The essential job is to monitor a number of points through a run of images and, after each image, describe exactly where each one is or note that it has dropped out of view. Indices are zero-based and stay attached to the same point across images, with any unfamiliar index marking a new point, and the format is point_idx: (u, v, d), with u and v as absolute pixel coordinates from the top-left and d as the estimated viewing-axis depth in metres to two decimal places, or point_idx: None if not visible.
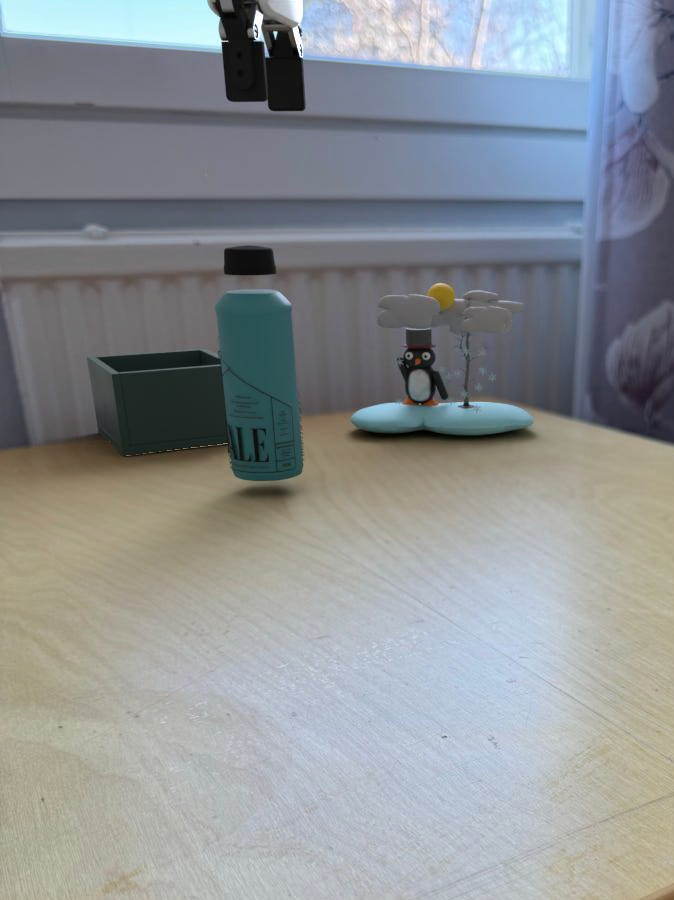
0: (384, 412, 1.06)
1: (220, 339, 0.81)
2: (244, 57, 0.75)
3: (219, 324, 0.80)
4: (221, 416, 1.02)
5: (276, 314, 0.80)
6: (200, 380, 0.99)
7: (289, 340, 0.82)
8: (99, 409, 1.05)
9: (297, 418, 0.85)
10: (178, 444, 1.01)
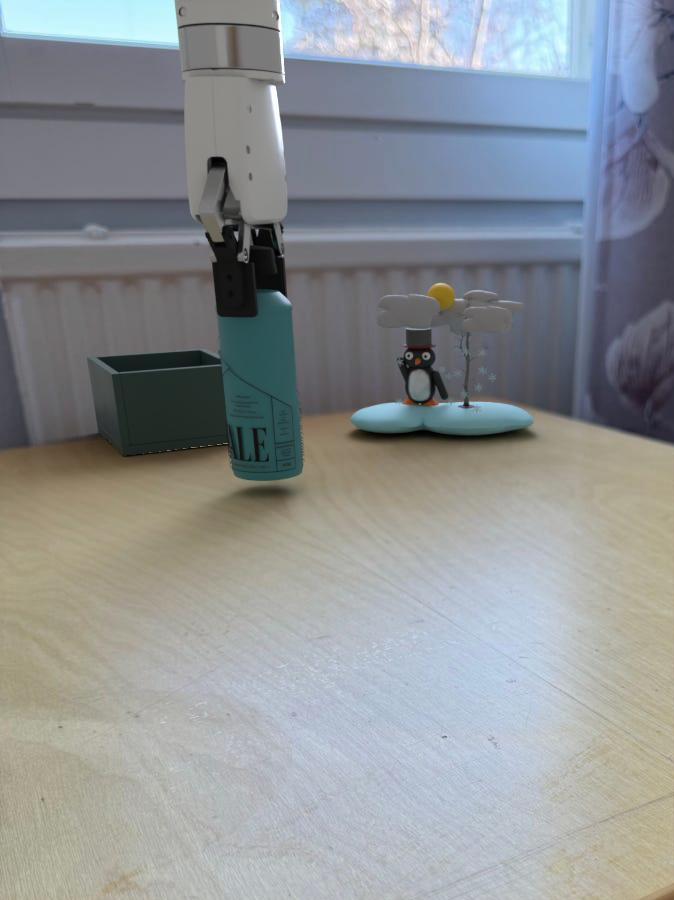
0: (384, 412, 1.06)
1: (220, 339, 0.81)
2: (234, 279, 0.76)
3: (219, 324, 0.80)
4: (221, 416, 1.02)
5: (276, 313, 0.80)
6: (200, 380, 0.99)
7: (290, 339, 0.82)
8: (99, 409, 1.05)
9: (297, 418, 0.85)
10: (178, 444, 1.01)
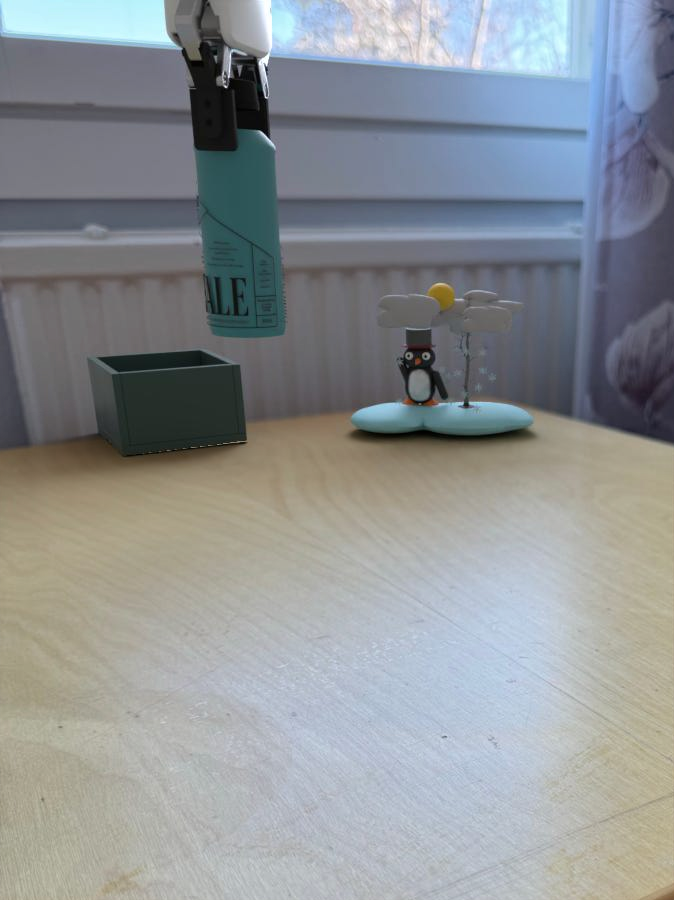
0: (384, 412, 1.06)
1: (198, 180, 0.76)
2: (213, 106, 0.72)
3: (197, 163, 0.76)
4: (221, 416, 1.02)
5: (258, 151, 0.75)
6: (200, 380, 0.99)
7: (272, 184, 0.77)
8: (99, 409, 1.05)
9: (279, 272, 0.80)
10: (178, 444, 1.01)
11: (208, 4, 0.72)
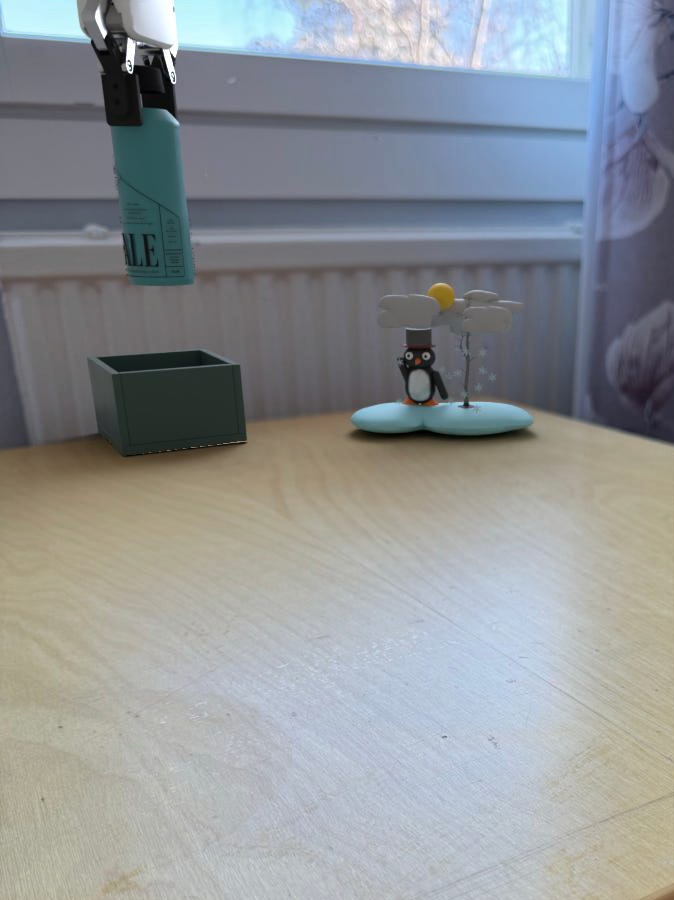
0: (384, 412, 1.06)
1: (114, 151, 0.91)
2: (120, 88, 0.86)
3: (112, 137, 0.90)
4: (221, 416, 1.02)
5: (162, 126, 0.89)
6: (200, 380, 0.99)
7: (176, 154, 0.92)
8: (99, 409, 1.05)
9: (186, 230, 0.95)
10: (178, 444, 1.01)
11: None
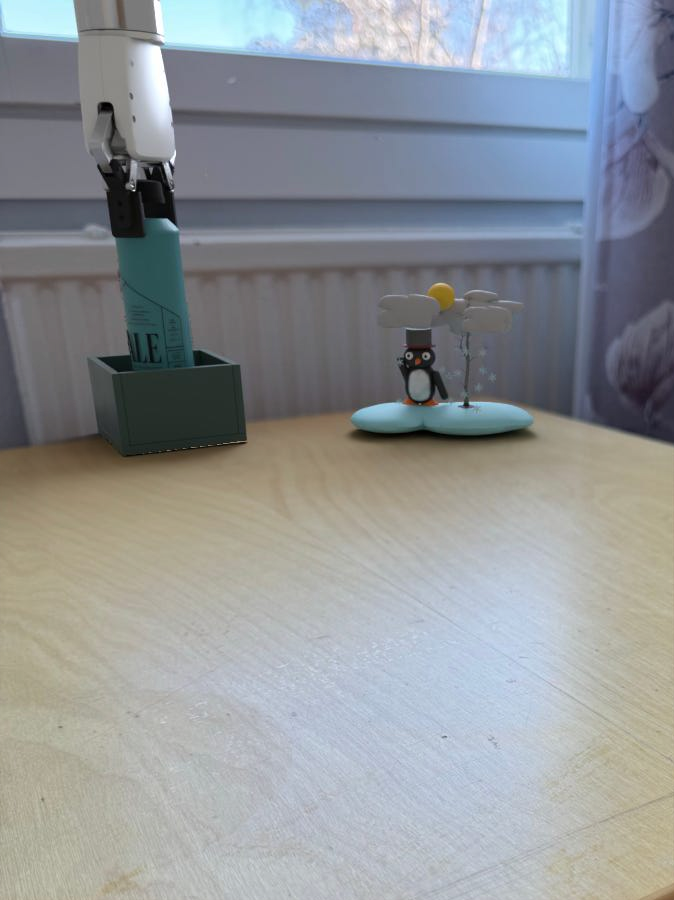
0: (384, 412, 1.06)
1: (118, 258, 0.97)
2: (124, 205, 0.93)
3: (117, 245, 0.97)
4: (221, 416, 1.02)
5: (163, 236, 0.96)
6: (200, 380, 0.99)
7: (177, 259, 0.98)
8: (99, 409, 1.05)
9: (186, 327, 1.01)
10: (178, 444, 1.01)
11: None
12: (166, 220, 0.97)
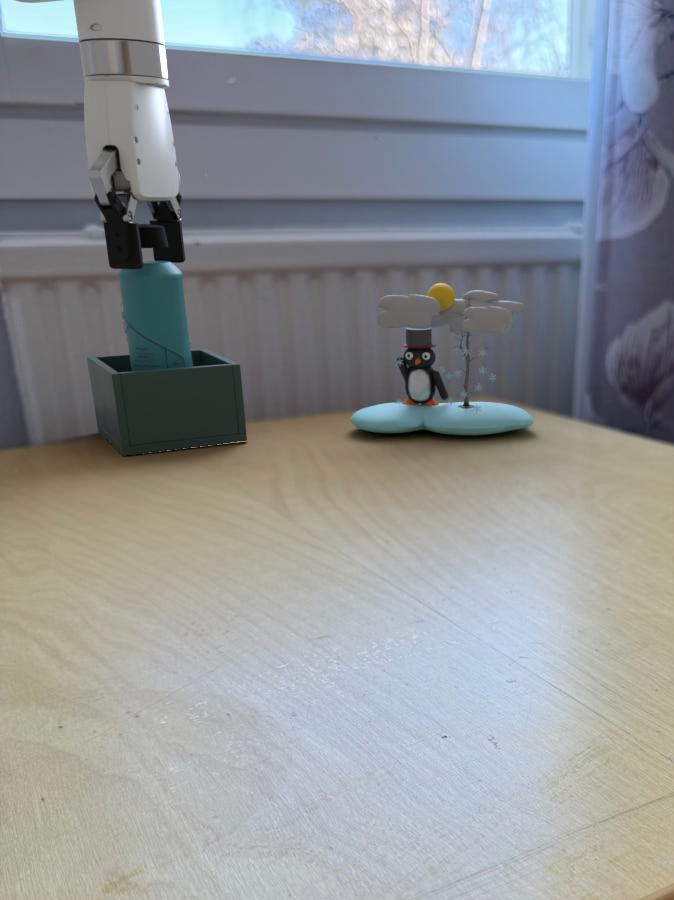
0: (384, 412, 1.06)
1: (122, 301, 0.99)
2: (121, 236, 0.93)
3: (121, 288, 0.98)
4: (221, 416, 1.02)
5: (167, 280, 0.98)
6: (200, 380, 0.99)
7: (180, 302, 1.00)
8: (99, 409, 1.05)
9: None
10: (178, 444, 1.01)
11: None
12: (169, 264, 0.99)
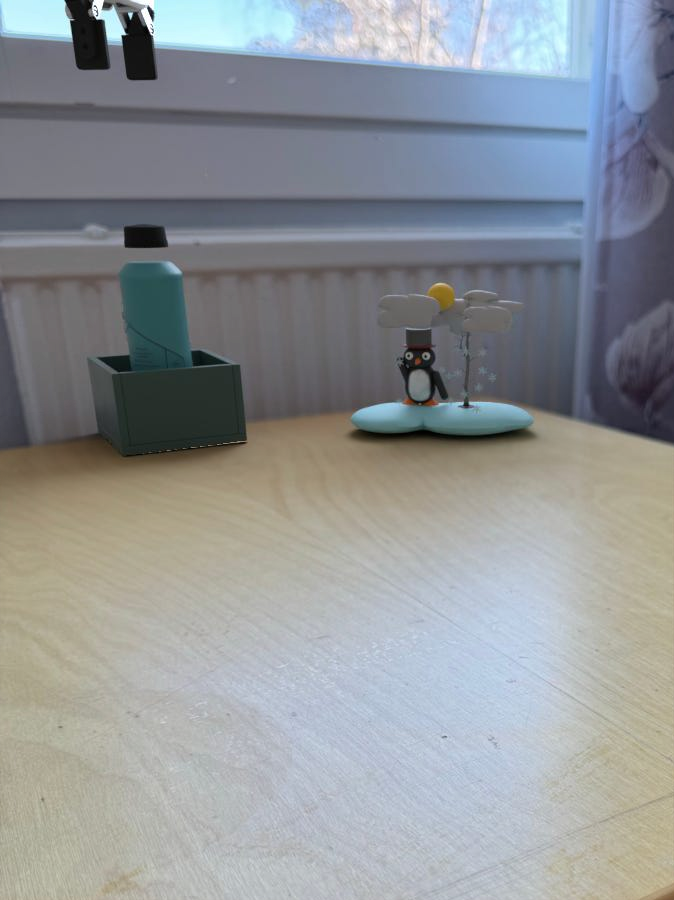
0: (384, 412, 1.06)
1: (122, 301, 0.99)
2: (87, 32, 0.92)
3: (121, 288, 0.98)
4: (221, 416, 1.02)
5: (167, 280, 0.98)
6: (200, 380, 0.99)
7: (180, 302, 1.00)
8: (99, 409, 1.05)
9: None
10: (178, 444, 1.01)
11: None
12: (169, 264, 0.99)
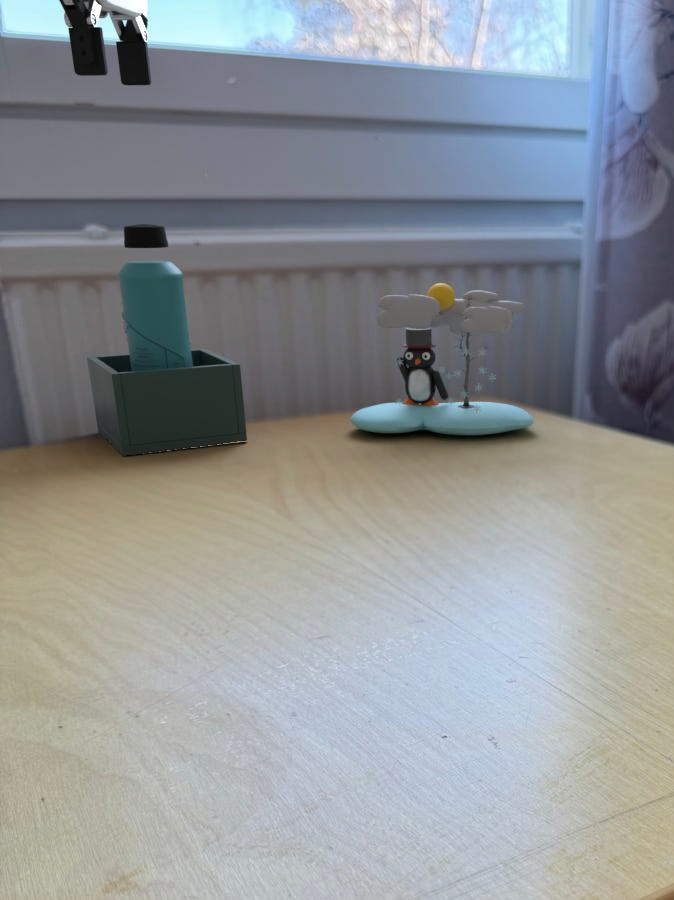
0: (384, 412, 1.06)
1: (122, 301, 0.99)
2: (85, 40, 0.95)
3: (121, 288, 0.98)
4: (221, 416, 1.02)
5: (167, 280, 0.98)
6: (200, 380, 0.99)
7: (180, 302, 1.00)
8: (99, 409, 1.05)
9: None
10: (178, 444, 1.01)
11: None
12: (170, 264, 0.99)
